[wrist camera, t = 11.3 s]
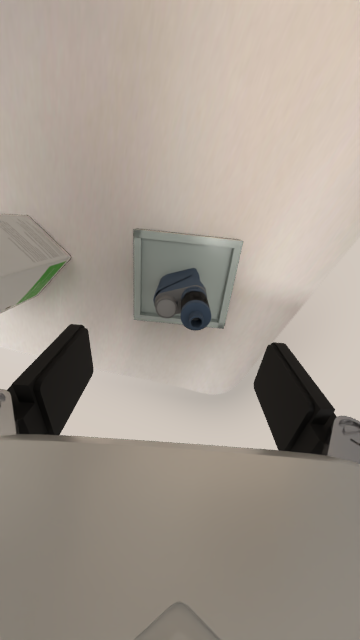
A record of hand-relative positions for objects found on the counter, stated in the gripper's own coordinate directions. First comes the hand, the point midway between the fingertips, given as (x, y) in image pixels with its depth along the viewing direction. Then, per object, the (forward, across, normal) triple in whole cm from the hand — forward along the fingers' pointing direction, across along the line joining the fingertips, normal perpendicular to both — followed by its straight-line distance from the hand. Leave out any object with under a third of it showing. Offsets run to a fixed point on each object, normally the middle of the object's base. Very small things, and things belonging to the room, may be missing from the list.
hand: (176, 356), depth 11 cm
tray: (+17, 0, +1) cm, 17 cm away
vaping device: (+16, 0, +1) cm, 16 cm away
